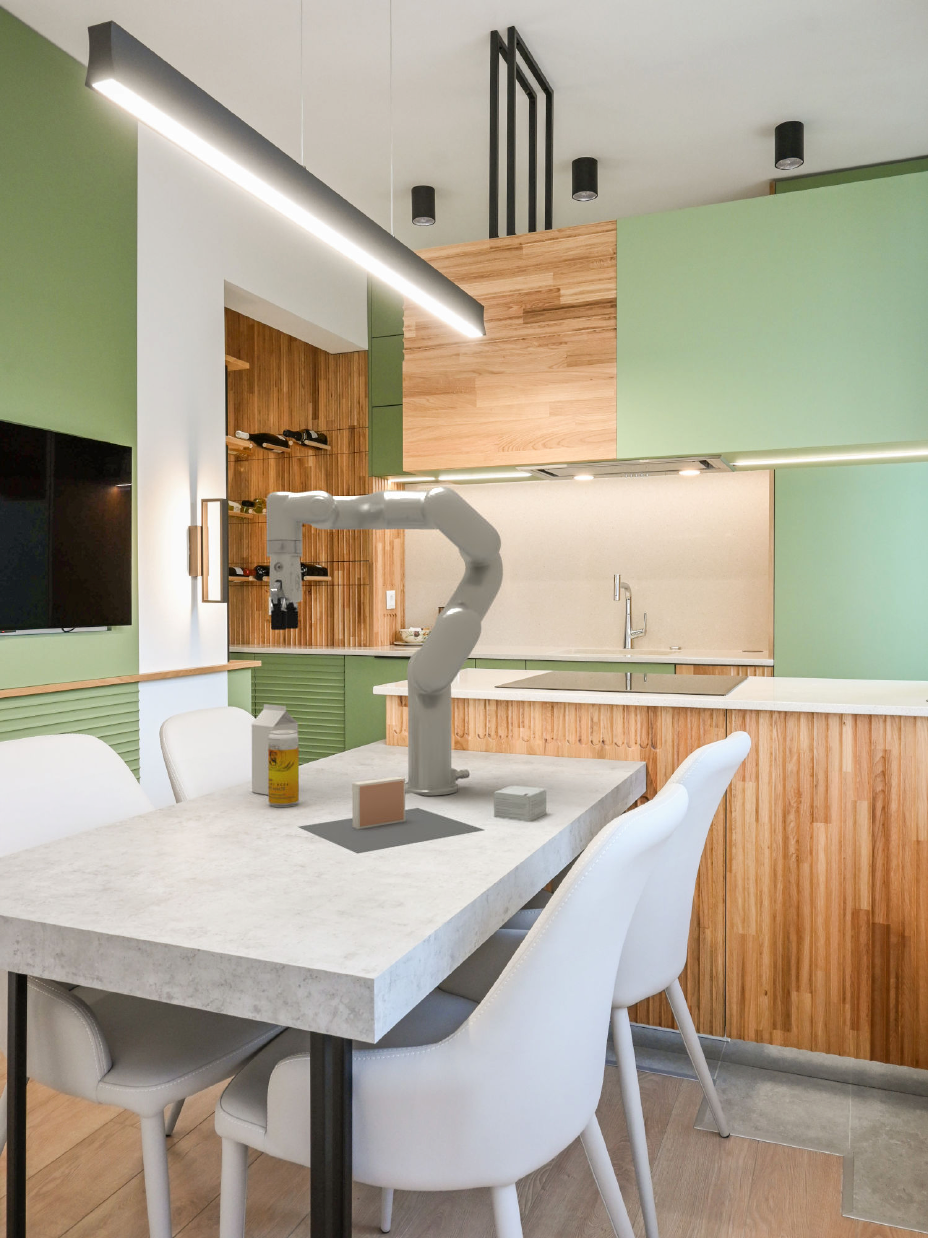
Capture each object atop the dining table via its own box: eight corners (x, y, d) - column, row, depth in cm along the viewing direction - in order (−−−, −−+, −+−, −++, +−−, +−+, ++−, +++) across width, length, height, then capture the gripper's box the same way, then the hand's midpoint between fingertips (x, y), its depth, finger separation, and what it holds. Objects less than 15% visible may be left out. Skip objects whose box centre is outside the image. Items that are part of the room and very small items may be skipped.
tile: (399, 819, 171) (399, 776, 171) (405, 821, 169) (405, 778, 169) (352, 826, 165) (352, 782, 165) (358, 829, 163) (358, 784, 163)
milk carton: (273, 796, 194) (273, 707, 194) (251, 792, 198) (251, 705, 198) (298, 791, 200) (298, 704, 200) (276, 787, 204) (276, 702, 204)
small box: (511, 810, 182) (511, 784, 182) (547, 814, 178) (547, 788, 178) (493, 818, 175) (492, 791, 175) (529, 822, 171) (529, 795, 171)
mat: (417, 810, 181) (417, 807, 181) (485, 833, 163) (485, 829, 163) (297, 830, 165) (297, 826, 165) (357, 857, 147) (357, 853, 147)
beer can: (262, 806, 185) (261, 732, 185) (281, 800, 190) (281, 728, 190) (285, 809, 182) (285, 734, 182) (304, 803, 188) (304, 730, 187)
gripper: (291, 547, 188) (291, 630, 188) (311, 552, 205) (311, 628, 205) (255, 547, 188) (256, 630, 188) (278, 552, 205) (278, 628, 206)
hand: (285, 629), depth 197 cm, fingers open, 9 cm apart
